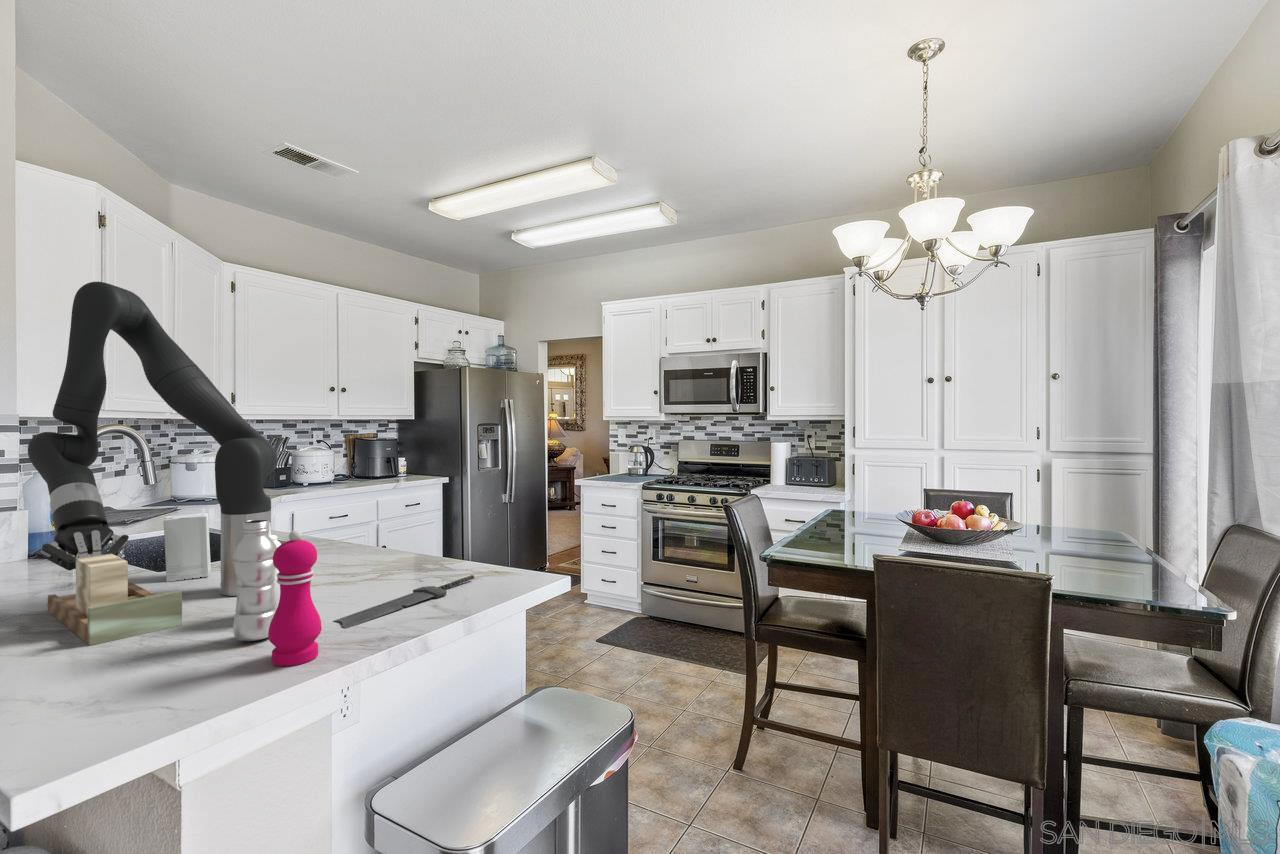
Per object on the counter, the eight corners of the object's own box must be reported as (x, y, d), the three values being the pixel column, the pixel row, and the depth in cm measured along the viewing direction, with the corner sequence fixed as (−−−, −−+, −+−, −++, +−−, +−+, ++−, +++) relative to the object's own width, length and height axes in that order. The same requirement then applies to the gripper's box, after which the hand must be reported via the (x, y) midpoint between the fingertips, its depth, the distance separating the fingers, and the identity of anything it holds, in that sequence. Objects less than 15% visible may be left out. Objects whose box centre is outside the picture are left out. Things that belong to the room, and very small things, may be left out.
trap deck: (47, 610, 116) (47, 580, 116) (130, 595, 126) (130, 567, 126) (90, 645, 98) (90, 609, 98) (182, 625, 108) (182, 591, 108)
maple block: (75, 610, 108) (75, 558, 108) (111, 603, 112) (111, 553, 112) (90, 622, 102) (90, 567, 102) (127, 614, 107) (127, 561, 106)
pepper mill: (282, 650, 96) (282, 526, 96) (329, 649, 97) (329, 526, 97) (258, 668, 89) (258, 534, 89) (308, 667, 90) (308, 534, 90)
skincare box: (210, 572, 146) (210, 511, 146) (208, 578, 141) (208, 515, 141) (167, 577, 142) (167, 514, 141) (163, 582, 136) (163, 517, 136)
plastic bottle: (288, 634, 103) (288, 519, 103) (251, 648, 97) (251, 525, 97) (260, 630, 106) (260, 517, 105) (222, 643, 99) (222, 523, 99)
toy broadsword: (322, 629, 110) (322, 618, 110) (461, 579, 141) (461, 570, 141) (348, 635, 106) (348, 623, 106) (485, 582, 137) (484, 574, 137)
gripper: (33, 502, 111) (48, 578, 104) (125, 495, 122) (144, 564, 115) (28, 527, 114) (42, 603, 107) (117, 518, 125) (135, 587, 118)
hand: (95, 582), depth 111 cm, fingers closed
